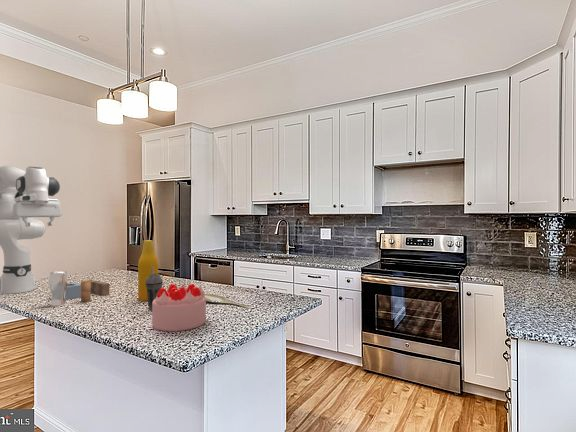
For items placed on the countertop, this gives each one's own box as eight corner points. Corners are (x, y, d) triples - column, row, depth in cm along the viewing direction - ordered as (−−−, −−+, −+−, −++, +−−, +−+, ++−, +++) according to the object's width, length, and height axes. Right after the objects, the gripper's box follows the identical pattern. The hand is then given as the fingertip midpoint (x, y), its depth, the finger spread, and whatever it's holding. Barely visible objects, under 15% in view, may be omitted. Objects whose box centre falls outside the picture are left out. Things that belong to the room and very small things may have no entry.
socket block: (52, 297, 172) (52, 285, 172) (74, 293, 180) (74, 282, 180) (61, 300, 166) (61, 288, 166) (83, 296, 175) (83, 284, 175)
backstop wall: (84, 291, 187) (84, 280, 187) (90, 290, 190) (90, 279, 190) (103, 296, 176) (103, 284, 176) (109, 295, 179) (109, 283, 179)
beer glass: (58, 307, 155) (58, 273, 155) (45, 306, 157) (45, 273, 157) (71, 303, 162) (71, 271, 162) (58, 302, 164) (58, 270, 164)
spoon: (263, 310, 157) (263, 305, 157) (248, 316, 148) (248, 311, 148) (208, 295, 176) (208, 291, 176) (192, 300, 167) (192, 295, 167)
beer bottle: (158, 300, 168) (158, 240, 168) (137, 302, 165) (137, 241, 164) (158, 296, 176) (158, 239, 176) (138, 297, 173) (138, 240, 173)
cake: (216, 320, 136) (216, 284, 136) (177, 336, 119) (177, 294, 119) (180, 313, 146) (180, 280, 146) (139, 326, 129) (139, 288, 129)
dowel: (79, 301, 165) (79, 281, 165) (88, 300, 168) (88, 279, 168) (83, 303, 162) (83, 282, 162) (92, 301, 166) (92, 280, 166)
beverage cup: (166, 307, 155) (166, 263, 155) (155, 311, 148) (155, 265, 148) (153, 305, 158) (153, 262, 157) (141, 310, 151) (141, 264, 151)
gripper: (58, 200, 182) (59, 226, 181) (10, 198, 165) (11, 227, 164) (63, 198, 178) (65, 225, 178) (15, 196, 161) (16, 226, 161)
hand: (39, 226), depth 171 cm, fingers open, 8 cm apart
